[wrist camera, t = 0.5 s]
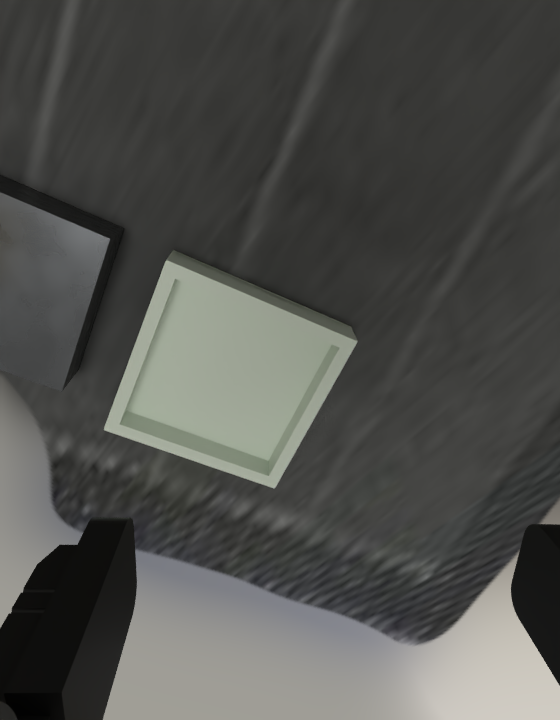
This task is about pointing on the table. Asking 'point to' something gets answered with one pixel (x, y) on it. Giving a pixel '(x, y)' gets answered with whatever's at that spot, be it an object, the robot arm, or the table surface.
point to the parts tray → (227, 372)
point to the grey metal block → (49, 282)
